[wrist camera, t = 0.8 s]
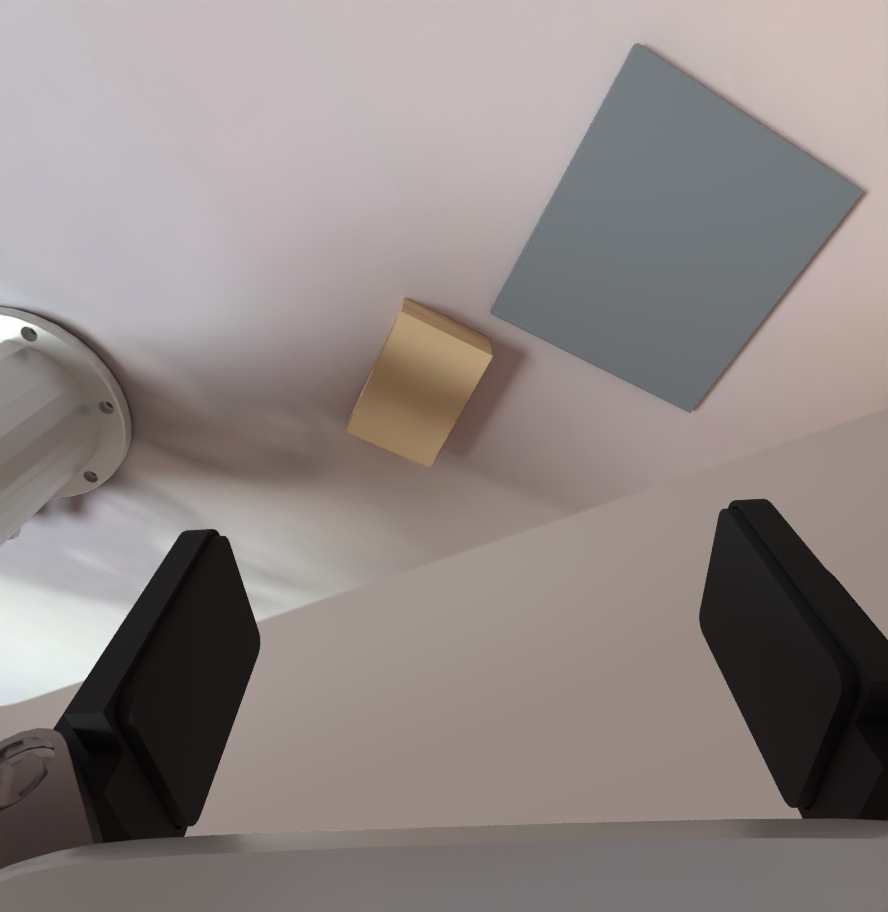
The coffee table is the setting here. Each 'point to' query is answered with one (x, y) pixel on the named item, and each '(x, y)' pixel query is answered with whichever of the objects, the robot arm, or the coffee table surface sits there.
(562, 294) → the mat
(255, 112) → the coffee table surface
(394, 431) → the light brown rectangular block
